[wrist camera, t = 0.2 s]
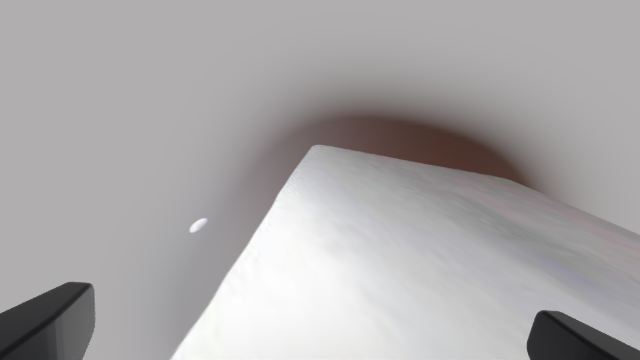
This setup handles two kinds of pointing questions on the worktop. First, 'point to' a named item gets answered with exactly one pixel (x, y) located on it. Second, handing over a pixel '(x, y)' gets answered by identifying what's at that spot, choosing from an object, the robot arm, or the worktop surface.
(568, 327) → the robot arm
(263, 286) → the worktop surface
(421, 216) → the worktop surface
